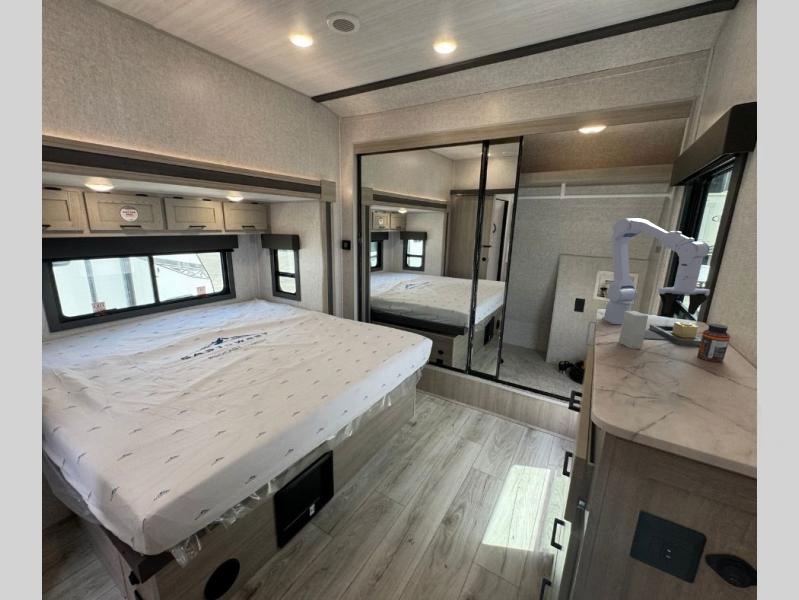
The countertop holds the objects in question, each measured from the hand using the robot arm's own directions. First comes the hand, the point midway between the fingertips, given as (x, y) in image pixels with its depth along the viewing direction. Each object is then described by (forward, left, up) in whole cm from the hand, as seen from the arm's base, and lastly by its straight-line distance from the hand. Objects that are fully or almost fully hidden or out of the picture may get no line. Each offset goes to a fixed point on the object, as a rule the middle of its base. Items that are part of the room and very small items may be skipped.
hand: (678, 313), depth 110 cm
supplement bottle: (+16, +1, -11) cm, 19 cm away
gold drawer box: (+1, +3, -10) cm, 11 cm away
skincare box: (+8, -18, -11) cm, 23 cm away
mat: (-4, -7, -10) cm, 13 cm away
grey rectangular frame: (-3, +3, -10) cm, 11 cm away
